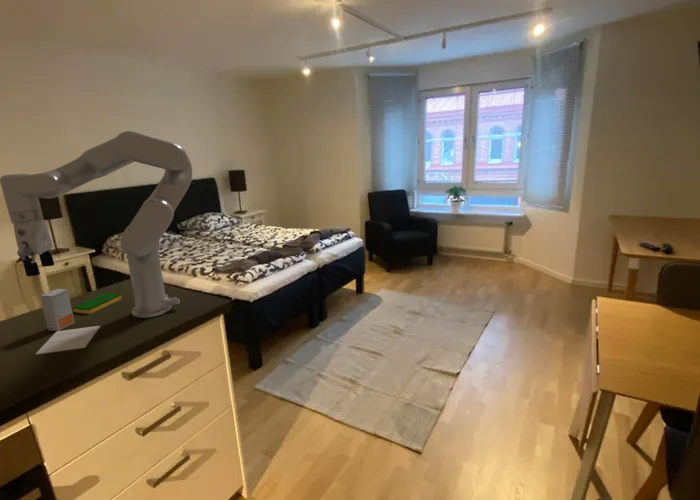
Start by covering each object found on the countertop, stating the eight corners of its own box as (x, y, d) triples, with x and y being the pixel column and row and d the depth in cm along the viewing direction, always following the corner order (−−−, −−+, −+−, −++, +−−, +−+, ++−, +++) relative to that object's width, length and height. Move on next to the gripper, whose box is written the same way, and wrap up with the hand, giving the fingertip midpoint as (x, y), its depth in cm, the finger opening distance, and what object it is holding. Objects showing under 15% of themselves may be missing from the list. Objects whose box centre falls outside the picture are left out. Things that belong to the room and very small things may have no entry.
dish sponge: (74, 313, 134) (72, 307, 133) (107, 298, 147) (106, 292, 146) (90, 315, 132) (88, 308, 131) (122, 299, 145) (121, 293, 144)
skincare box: (58, 331, 119) (50, 296, 116) (47, 330, 120) (38, 295, 117) (75, 323, 125) (68, 289, 122) (65, 322, 126) (57, 288, 123)
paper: (100, 326, 122) (100, 325, 122) (85, 347, 109) (84, 346, 109) (56, 332, 119) (56, 331, 119) (35, 354, 106) (35, 353, 106)
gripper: (26, 220, 106) (42, 278, 110) (54, 210, 122) (66, 261, 126) (-6, 222, 104) (11, 281, 108) (26, 212, 120) (40, 263, 124)
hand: (41, 270), depth 117 cm, fingers open, 9 cm apart
